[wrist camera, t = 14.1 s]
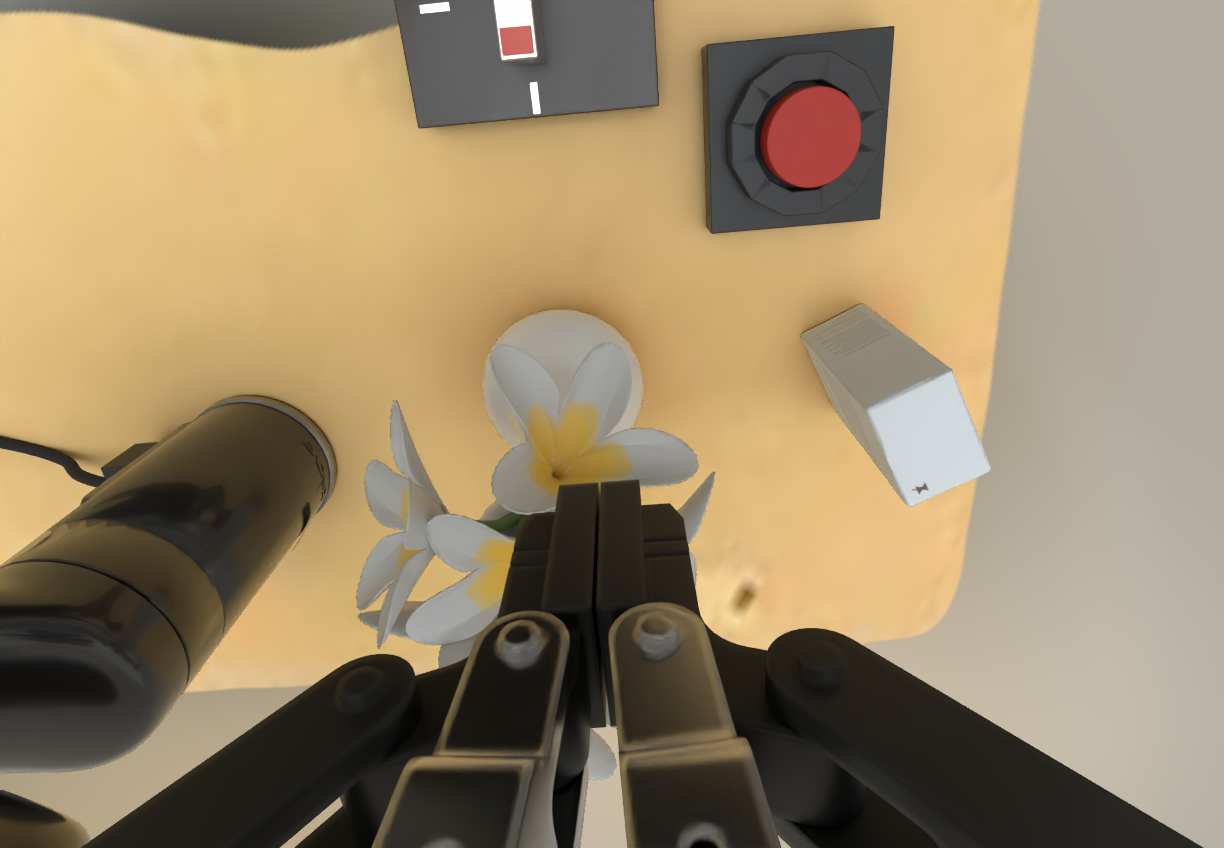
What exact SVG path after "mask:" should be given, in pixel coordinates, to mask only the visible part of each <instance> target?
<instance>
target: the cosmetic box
mask: <svg viewBox="0 0 1224 848" xmlns="http://www.w3.org/2000/svg"><path fill="white" fill-rule="evenodd" d="M801 339H802V341H803V343H804V345H805V347H806V349H807V352H808V354H809V356H810V358H811V360H812V362H813V364H814V367H815V369H816V371H817V373H818V375H819V377H820V380H821V382H822V384H823V386H824V388H825V390H826V392H827V394H828V397H829V399H830V401H831V403H832V405H833V407H834V410H835V412H836V413H837V414H838V416H839V417H840V418H841V419H842V421H843V422H844V424H845V425H846V426H847V428H848V429H849V430H850V431H851V433H852V434H853V436H854V437H855V438H856V439H857V441H858V442H859V443H860V445H861V446H862V447H863V448H864V450H865V451H866V452H867V454H868V455H869V456H870V458H871V459H872V460H873V462H874V463H875V465H876V466H877V467H878V469H879V470H880V471H881V472H882V474H883V475H884V476H885V478H886V479H887V480H888V482H889V483H890V485H891V486H892V487H893V489H894V490H895V491H896V492H897V494H898V495H899V496H900V498H901V499H902V500H903V501H904V503H905V504H906V505H907V506H908V507H912V506H914V505H916V504H918V503H920V502H923V501H925V500H927V499H929V498H931V497H934V496H936V495H938V494H940V493H943V492H945V491H947V490H950V489H952V488H954V487H956V486H959V485H961V484H963V483H966V482H968V481H970V480H972V479H974V478H977V477H979V476H981V475H983V474H985V473H987V472H989V471H990V469H991V468H990V465H989V463H988V460H987V457H986V454H985V452H984V449H983V446H982V443H981V441H980V438H979V436H978V433H977V431H976V428H975V426H974V423H973V421H972V419H971V416H970V414H969V411H968V409H967V406H966V404H965V401H964V399H963V396H962V394H961V391H960V389H959V386H958V384H957V381H956V378H955V376H954V373H953V370H952V369H951V368H949V367H948V366H947V365H945V364H944V363H943V362H941V361H940V360H939V359H937V358H936V357H934V356H933V355H932V354H930V353H929V352H928V351H927V350H925V349H924V348H922V347H921V346H920V345H918V344H917V343H916V342H914V341H913V340H912V339H910V338H909V337H908V336H906V335H905V334H904V333H903V332H901V331H900V330H898V329H897V328H896V327H894V326H893V325H892V324H890V323H889V322H888V321H886V320H885V319H884V318H882V317H881V316H880V315H878V314H877V313H876V312H874V311H873V310H871V309H870V308H869V307H867V306H866V305H865V304H859V305H857V306H855V307H853V308H851V309H850V310H848V311H846V312H844V313H842V314H840V315H838V316H836V317H834V318H832V319H830V320H828V321H826V322H824V323H822V324H820V325H818V326H816V327H814V328H812V329H810V330H808V331H806V332H804V333H802V334H801Z"/></svg>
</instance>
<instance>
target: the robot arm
mask: <svg viewBox="0 0 1224 848" xmlns="http://www.w3.org/2000/svg"><path fill="white" fill-rule="evenodd" d="M0 448H2V449H7V450H12V451H17V452H21V453H25V454H29V455H33V456H36V457H40V458H43V459H46V460H49V461H52V462H55V463H57V464H60V465H61V466H63V467H64V468H65V470H66V472H67V473H68V474H69V475H70V476H71V477H72V478H73V479H74V480H76V481H78V482H81V483H83V484H86V485H89V486H93V487H97V488H95V489H94V490H93V491H91V492H90V493H88V494H87V495H86V496H85V497H84V498H83V499H82V501H81V503H80V506H79V507H78V508H76V509H75V510H74V511H72V512H71V513H70V514H68V515H67V516H66V517H64V518H63V519H62V520H60V521H59V522H58V523H56V524H55V525H54V526H52V527H51V528H50V529H48V530H47V531H46V532H44V533H43V534H42V535H40V536H39V537H38V538H37V539H35V540H34V541H33V542H31V543H30V544H29V545H27V546H26V547H24V548H23V549H22V550H20V551H19V552H18V553H16V554H15V555H14V556H12V557H11V558H10V559H8V560H7V561H6V562H4V563H3V564H2V565H0V774H11V773H60V772H72V771H80V770H86V769H91V768H95V767H99V766H102V765H105V764H108V763H110V762H113V761H116V760H117V759H119V758H121V757H123V756H125V755H127V754H129V753H130V752H132V751H133V750H134V749H136V748H137V747H138V746H139V745H141V744H142V743H143V742H144V741H145V740H146V739H147V738H148V737H149V736H150V735H151V734H152V733H153V732H154V731H155V729H156V728H157V727H158V726H159V725H160V723H161V722H162V721H163V719H164V718H165V717H166V715H167V714H168V713H169V711H170V710H171V709H172V707H173V706H174V704H175V703H176V702H177V700H178V699H179V698H180V696H181V695H182V694H183V692H184V691H185V690H186V688H187V687H188V686H189V684H190V683H191V682H192V680H193V679H194V678H195V676H196V675H197V673H198V672H199V671H200V669H201V668H202V667H203V665H204V664H205V663H206V661H207V660H208V659H209V657H210V656H211V655H212V653H213V652H214V650H215V649H216V648H217V646H218V645H219V643H220V642H221V641H222V639H223V638H224V637H225V635H226V634H227V632H228V631H229V630H230V628H231V627H232V626H233V624H234V623H235V622H236V620H237V619H238V618H239V616H240V615H241V614H242V612H243V611H244V610H245V608H246V607H247V605H248V604H249V603H250V601H251V600H252V599H253V597H254V596H255V595H256V593H257V592H258V591H259V589H260V588H261V587H262V585H263V584H264V582H265V581H266V580H267V578H268V577H269V576H270V574H271V573H272V572H273V570H274V569H275V568H276V566H277V565H278V564H279V562H280V561H281V559H282V558H283V557H284V555H285V554H286V553H287V551H288V550H289V549H290V547H291V546H292V545H293V543H294V542H295V541H296V539H297V538H298V537H299V535H300V534H301V533H302V531H303V530H304V531H303V533H302V535H301V536H300V538H299V540H298V542H297V543H296V545H297V544H298V543H299V541H300V539H301V537H302V536H303V534H304V532H305V530H306V529H307V527H308V525H309V524H310V522H311V520H312V518H313V517H314V515H315V514H316V513H317V512H318V511H319V510H320V509H321V508H322V507H323V506H324V504H325V503H326V501H327V500H328V499H329V497H330V495H331V493H332V491H333V489H334V486H335V482H336V462H335V458H334V455H333V452H332V449H331V447H330V445H329V443H328V441H327V439H326V438H325V436H324V435H323V433H322V432H321V431H320V430H319V428H318V427H317V426H316V425H315V424H314V423H313V422H312V421H311V420H310V419H308V418H307V417H306V416H305V415H303V414H302V413H301V412H299V411H297V410H296V409H294V408H292V407H290V406H289V405H287V404H284V403H282V402H279V401H276V400H273V399H270V398H265V397H259V396H237V397H232V398H228V399H225V400H222V401H220V402H218V403H216V404H214V405H213V406H211V407H210V408H208V409H207V410H206V411H204V412H203V413H202V414H200V415H199V416H198V417H197V418H196V419H195V421H194V422H192V423H188V424H183V425H182V426H180V427H179V428H177V429H176V430H175V431H173V432H172V433H171V434H169V435H168V436H166V437H165V438H164V439H162V440H161V441H160V442H154V443H141V444H135V445H133V446H132V447H130V448H129V449H127V450H126V451H125V452H123V453H122V454H120V455H119V456H117V457H116V458H114V459H113V460H112V461H110V462H109V463H107V464H106V465H104V466H103V467H102V468H101V470H102V472H103V475H104V477H101V476H97V475H94V474H91V473H88V472H86V471H84V470H82V469H81V468H80V467H79V465H78V464H77V462H76V461H75V460H74V459H73V458H72V457H70V456H68V455H66V454H64V453H61V452H58V451H55V450H52V449H49V448H46V447H42V446H39V445H35V444H31V443H27V442H23V441H18V440H14V439H9V438H3V437H0ZM305 527H306V528H305ZM296 545H295V547H296ZM295 547H294V548H295ZM294 548H293V549H294ZM292 551H293V550H292ZM606 701H607V702H608V710H609V719H610V726H611V727H612V726H617V734H618V744H619V762H620V775H621V785H622V795H623V806H624V816H625V828H626V839H627V848H781V845H780V842H779V838H778V835H779V837H780V838H781V839H782V840H784V841H785V842H786V843H787V844H788V845H789V846H790V847H791V848H1203V847H1201V846H1200V845H1198V844H1196V843H1194V842H1193V841H1191V840H1190V839H1188V838H1186V837H1184V836H1183V835H1181V834H1179V833H1178V832H1176V831H1174V830H1173V829H1171V828H1169V827H1167V826H1166V825H1164V824H1163V823H1161V822H1159V821H1157V820H1156V819H1154V818H1152V817H1151V816H1149V815H1147V814H1146V813H1144V812H1142V811H1140V810H1139V809H1137V808H1135V807H1134V806H1132V805H1131V804H1129V803H1127V802H1126V801H1124V800H1122V799H1120V798H1119V797H1117V796H1115V795H1114V794H1112V793H1110V792H1109V791H1107V790H1105V789H1104V788H1102V787H1100V786H1099V785H1097V784H1095V783H1093V782H1092V781H1090V780H1088V779H1087V778H1085V777H1083V776H1082V775H1080V774H1078V773H1077V772H1075V771H1073V770H1071V769H1070V768H1068V767H1067V766H1065V765H1063V764H1062V763H1060V762H1058V761H1056V760H1054V759H1053V758H1051V757H1050V756H1048V755H1046V754H1045V753H1043V752H1041V751H1040V750H1038V749H1036V748H1035V747H1033V746H1031V745H1030V744H1028V743H1026V742H1024V741H1023V740H1021V739H1019V738H1018V737H1016V736H1014V735H1013V734H1011V733H1009V732H1008V731H1006V730H1004V729H1003V728H1001V727H999V726H997V725H996V724H994V723H992V722H991V721H989V720H987V719H986V718H984V717H982V716H981V715H979V714H977V713H976V712H974V711H972V710H970V709H969V708H967V707H966V706H964V705H962V704H960V703H959V702H957V701H955V700H954V699H952V698H950V697H949V696H947V695H945V694H943V693H942V692H940V691H939V690H936V689H935V688H934V687H932V686H930V685H928V684H927V683H925V682H923V681H922V680H920V679H918V678H917V677H915V676H913V675H912V674H910V673H908V672H907V671H905V670H903V669H902V668H900V667H898V666H896V665H895V664H893V663H891V662H890V661H888V660H886V659H885V658H883V657H881V656H880V655H878V654H876V653H875V652H873V651H871V650H870V649H868V648H866V647H864V646H863V645H861V644H859V643H858V642H856V641H854V640H853V639H851V638H849V637H847V636H845V635H843V634H840V633H837V632H834V631H830V630H826V629H819V628H805V629H797V630H793V631H790V632H788V633H785V634H783V635H781V636H780V637H778V638H777V639H776V640H775V641H774V642H773V643H772V644H771V645H770V647H769V648H768V651H767V650H761V649H756V648H750V647H745V646H741V645H737V644H735V643H732V642H729V641H727V640H725V639H723V638H721V637H720V636H718V635H717V634H715V633H714V632H713V631H712V630H710V629H709V628H708V627H707V625H706V624H705V623H704V621H703V619H702V618H701V615H700V612H699V607H698V601H697V595H696V589H695V583H694V577H693V571H692V565H691V559H690V555H689V548H688V542H687V536H686V530H685V524H684V518H683V517H682V516H681V515H680V514H679V513H678V512H677V511H676V510H675V509H674V508H673V507H672V506H671V504H670V503H669V504H655V505H641V495H640V483H639V479H634V480H621V481H607V482H601V488H600V490H599V484H598V482H595V483H582V484H568V485H559V488H558V495H557V502H556V509H555V512H545V513H533V514H532V515H531V516H530V517H529V518H528V519H527V520H526V521H525V522H524V524H523V525H522V526H521V527H520V528H519V529H518V531H517V535H516V540H515V544H514V552H513V553H512V557H511V561H510V567H509V570H508V575H507V579H506V583H505V588H504V592H503V596H502V601H501V605H500V609H499V614H498V618H497V620H495V621H493V622H492V623H490V624H489V625H488V626H486V627H485V628H484V629H483V630H482V631H481V632H480V634H479V635H478V636H477V638H476V640H475V642H474V644H473V646H472V649H471V652H470V654H469V656H468V657H466V658H465V659H463V660H461V661H459V662H457V663H454V664H451V665H449V666H446V667H442V668H439V669H436V670H433V671H430V672H426V673H423V674H420V675H417V676H415V673H414V670H413V668H412V666H411V665H410V664H409V663H408V662H407V661H406V660H405V659H403V658H401V657H398V656H395V655H389V654H375V655H369V656H365V657H361V658H358V659H355V660H353V661H350V662H348V663H346V664H344V665H342V666H341V667H339V668H337V669H336V670H334V671H333V672H331V673H330V674H328V675H327V676H326V677H324V678H323V679H321V680H320V681H318V682H317V683H316V684H314V685H313V686H311V687H310V688H308V689H307V690H306V691H304V692H303V693H301V694H300V695H298V696H297V697H295V698H294V699H293V700H291V701H290V702H288V703H287V704H285V705H284V706H283V707H281V708H280V709H278V710H277V711H276V712H274V713H273V714H271V715H270V716H268V717H267V718H265V719H264V720H263V721H261V722H260V723H258V724H257V725H255V726H254V727H253V728H251V729H250V730H248V731H247V732H246V733H244V734H243V735H241V736H240V737H238V738H237V739H235V740H234V741H233V742H231V743H230V744H228V745H227V746H225V747H224V748H223V749H221V750H220V751H219V752H217V753H215V754H214V755H213V756H211V757H210V758H208V759H207V760H205V761H204V762H203V763H201V764H200V765H198V766H197V767H195V768H194V769H193V770H191V771H190V772H188V773H187V774H185V775H184V776H183V777H181V778H180V779H178V780H177V781H175V782H174V783H173V784H171V785H170V786H168V787H167V788H166V789H164V790H162V791H161V792H160V793H158V794H157V795H155V796H154V797H153V798H151V799H150V800H148V801H147V802H145V803H144V804H142V805H141V806H140V807H138V808H137V809H135V810H134V811H132V812H131V813H130V814H128V815H127V816H125V817H124V818H122V819H121V820H120V821H118V822H117V823H115V824H114V825H113V826H111V827H110V828H108V829H107V830H106V831H104V832H102V833H101V834H100V835H98V836H97V837H95V838H94V839H92V840H91V841H90V837H89V835H88V833H87V831H86V830H85V828H84V827H83V826H82V825H81V824H80V823H79V822H77V821H75V820H74V819H72V818H70V817H68V816H67V815H64V814H63V813H60V812H58V811H56V810H53V809H52V808H49V807H47V806H44V805H42V804H39V803H36V802H34V801H31V800H29V799H26V798H23V797H21V796H18V795H16V794H12V793H10V792H7V791H4V790H0V848H280V847H281V846H282V845H283V844H284V843H286V842H287V841H288V840H289V839H290V838H292V837H293V836H294V835H295V834H296V833H298V832H299V831H300V830H301V829H302V828H303V827H304V826H306V825H307V824H308V823H309V822H310V821H312V820H313V819H314V818H315V817H316V816H318V815H319V814H320V813H321V812H322V811H323V810H325V809H326V808H327V807H328V806H329V805H330V804H332V803H333V802H334V801H335V800H336V799H338V798H339V797H340V799H341V802H342V805H343V806H342V807H341V808H340V809H339V810H338V811H336V812H335V813H334V814H333V815H332V816H331V817H330V818H328V819H327V820H326V821H325V822H324V823H322V824H321V825H320V826H319V827H318V828H317V829H315V830H314V831H313V832H312V833H311V834H310V835H308V836H307V837H306V838H305V839H304V840H303V841H301V842H300V843H299V844H298V845H297V846H296V847H295V848H580V844H581V836H582V828H583V819H584V812H585V802H586V794H587V787H588V779H589V769H588V763H587V759H588V757H589V750H590V728H598V727H606ZM777 834H778V835H777Z"/></svg>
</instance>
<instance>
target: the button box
mask: <svg viewBox="0 0 1224 848" xmlns="http://www.w3.org/2000/svg"><path fill="white" fill-rule="evenodd" d="M893 39H894V26H889V27H878V28H868V29H858V30H848V31H838V32H828V33H817V34H807V35H797V36H787V37H777V38H766V39H756V40H746V41H736V42H726V43H715V44H707V45H706V46H705V47H703V48H702V77H703V115H704V152H705V189H706V226H707V228H708V229H709V231H710V232H711V233H712V234H715V233H726V232H738V231H749V230H761V229H772V228H784V227H795V226H807V225H818V224H829V223H841V222H852V221H864V220H875V219H880V209H881V196H882V182H883V169H884V156H885V143H886V130H887V117H888V104H889V91H890V78H891V65H892V52H893ZM813 86H826V87H831V88H834V89H836V90H838V91H840V92H842V93H843V94H845V95H846V96H847V97H848V98H849V99H850V100H851V101H852V102H853V104H854V106H855V107H856V109H857V111H858V114H859V117H860V121H861V140H860V145H859V148H858V151H857V154H856V156H855V158H854V160H853V161H852V163H851V164H850V166H849V167H848V168H847V169H846V171H845V172H843V173H842V174H841V175H840V176H839V177H838V178H836V179H835V180H833V181H832V182H830V183H828V184H825V185H823V186H819V187H814V188H803V187H798V186H794V185H792V184H789V183H787V182H785V181H782V180H781V179H779V178H777V177H776V176H775V175H774V174H773V173H772V172H771V171H770V170H769V169H768V167H767V166H766V164H765V162H764V160H763V157H762V154H761V148H760V135H761V129H762V126H763V123H764V120H765V118H766V116H767V114H768V112H769V111H770V109H771V108H772V107H773V105H774V104H775V103H776V102H777V101H778V100H779V99H781V98H782V97H783V96H785V95H786V94H788V93H790V92H792V91H794V90H797V89H800V88H805V87H813Z"/></svg>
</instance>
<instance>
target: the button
mask: <svg viewBox="0 0 1224 848" xmlns="http://www.w3.org/2000/svg"><path fill="white" fill-rule="evenodd" d="M860 140H861V121H860V117H859V114H858V111H857V109H856V107H855V106H854V104H853V102H852V101H851V100H850V99H849V98H848V97H847V96H846V95H845V94H843V93H842V92H840V91H838V90H836V89H834V88H831V87H826V86H813V87H805V88H800V89H797V90H794V91H792V92H790V93H788V94H786V95H785V96H783V97H782V98H781V99H779V100H778V101H777V102H776V103H775V104H774V105H773V107H772V108H771V109H770V111H769V112H768V114H767V116H766V118H765V120H764V123H763V126H762V129H761V135H760V148H761V154H762V157H763V160H764V162H765V164H766V166H767V167H768V169H769V170H770V171H771V172H772V173H773V174H774V175H775V176H776V177H777V178H779V179H781V180H782V181H785V182H787V183H789V184H792V185H794V186H798V187H803V188H814V187H819V186H823V185H825V184H828V183H830V182H832V181H833V180H835V179H836V178H838V177H839V176H840V175H841V174H842V173H843V172H845V171H846V169H847V168H848V167H849V166H850V164H851V163H852V161H853V160H854V158H855V156H856V154H857V151H858V148H859V145H860Z"/></svg>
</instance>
